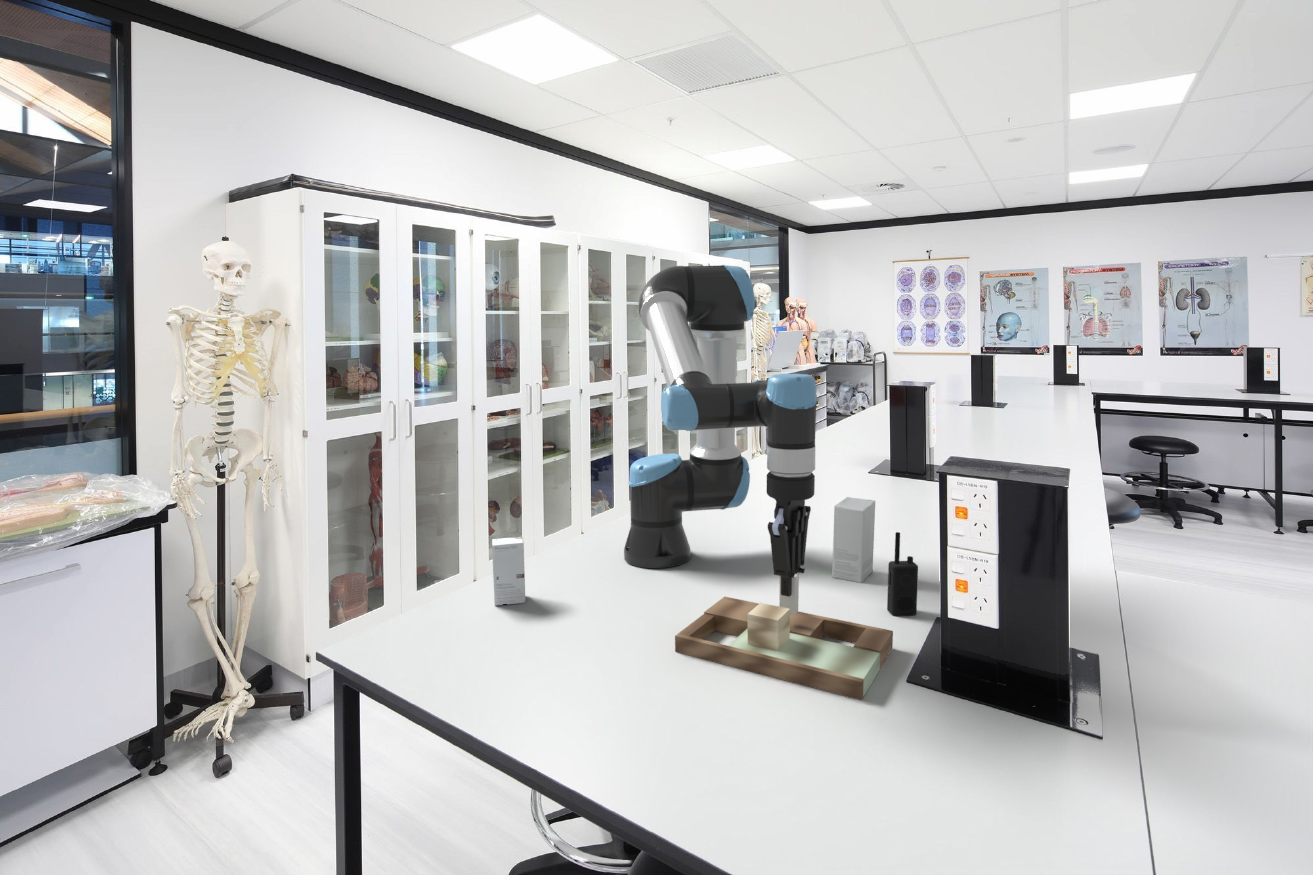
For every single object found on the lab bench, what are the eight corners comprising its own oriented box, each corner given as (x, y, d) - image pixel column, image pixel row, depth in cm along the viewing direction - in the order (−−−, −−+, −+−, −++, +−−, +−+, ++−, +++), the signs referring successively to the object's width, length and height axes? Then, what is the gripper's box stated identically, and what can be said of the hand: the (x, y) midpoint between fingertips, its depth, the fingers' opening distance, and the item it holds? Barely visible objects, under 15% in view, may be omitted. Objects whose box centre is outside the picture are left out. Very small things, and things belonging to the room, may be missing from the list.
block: (747, 644, 108) (747, 613, 107) (760, 631, 112) (760, 602, 111) (777, 651, 105) (777, 620, 105) (789, 638, 110) (789, 608, 109)
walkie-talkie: (910, 608, 127) (913, 529, 124) (918, 616, 123) (921, 534, 121) (884, 609, 127) (886, 530, 124) (891, 617, 123) (894, 535, 121)
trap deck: (675, 651, 112) (674, 634, 112) (724, 611, 127) (724, 596, 127) (861, 700, 96) (861, 680, 96) (892, 648, 111) (893, 630, 111)
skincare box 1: (494, 606, 132) (490, 545, 130) (494, 598, 136) (490, 538, 135) (527, 603, 134) (523, 542, 132) (526, 594, 138) (522, 535, 136)
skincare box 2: (844, 566, 150) (846, 496, 147) (875, 571, 146) (877, 499, 143) (831, 578, 143) (832, 504, 140) (862, 584, 139) (864, 509, 137)
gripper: (783, 462, 117) (782, 593, 121) (751, 477, 106) (751, 621, 110) (827, 466, 113) (824, 602, 117) (798, 483, 102) (796, 632, 107)
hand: (788, 611), depth 114 cm, fingers closed
